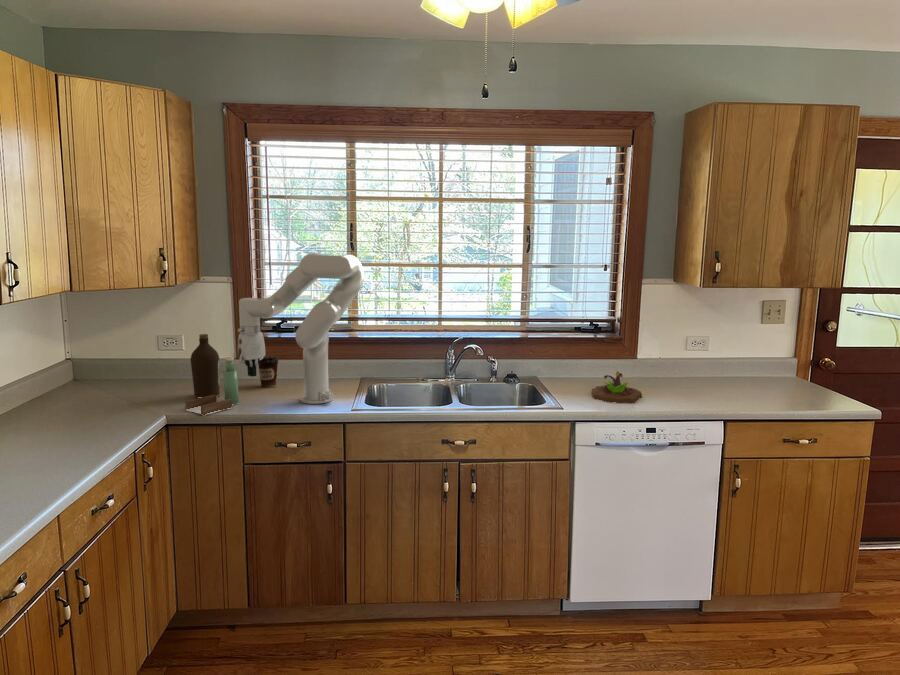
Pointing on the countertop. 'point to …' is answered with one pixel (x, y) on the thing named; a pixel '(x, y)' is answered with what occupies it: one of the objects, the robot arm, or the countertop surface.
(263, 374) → the coffee cup
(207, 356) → the olive oil
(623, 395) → the plant
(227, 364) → the bottle
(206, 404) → the cradle
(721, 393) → the countertop surface
